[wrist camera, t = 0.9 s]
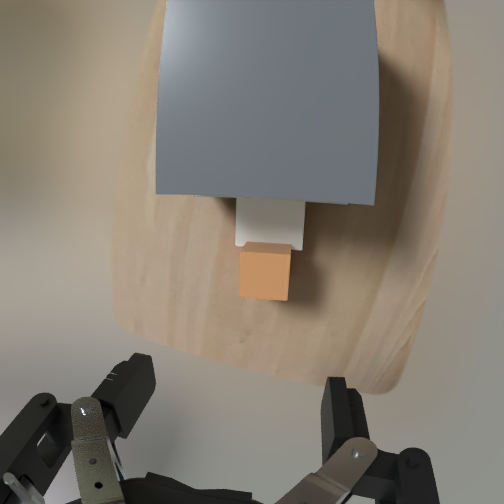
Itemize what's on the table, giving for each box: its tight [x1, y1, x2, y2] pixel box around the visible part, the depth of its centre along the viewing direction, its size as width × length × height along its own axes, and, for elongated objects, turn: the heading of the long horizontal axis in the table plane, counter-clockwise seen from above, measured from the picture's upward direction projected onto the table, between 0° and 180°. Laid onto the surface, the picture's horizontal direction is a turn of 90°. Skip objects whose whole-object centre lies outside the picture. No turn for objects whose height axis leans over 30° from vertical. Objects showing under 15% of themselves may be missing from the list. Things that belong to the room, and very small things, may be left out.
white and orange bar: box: [235, 198, 305, 301], centre depth 26 cm, size 20×6×5 cm, turn 178°
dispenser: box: [156, 0, 379, 206], centre depth 22 cm, size 17×14×10 cm
